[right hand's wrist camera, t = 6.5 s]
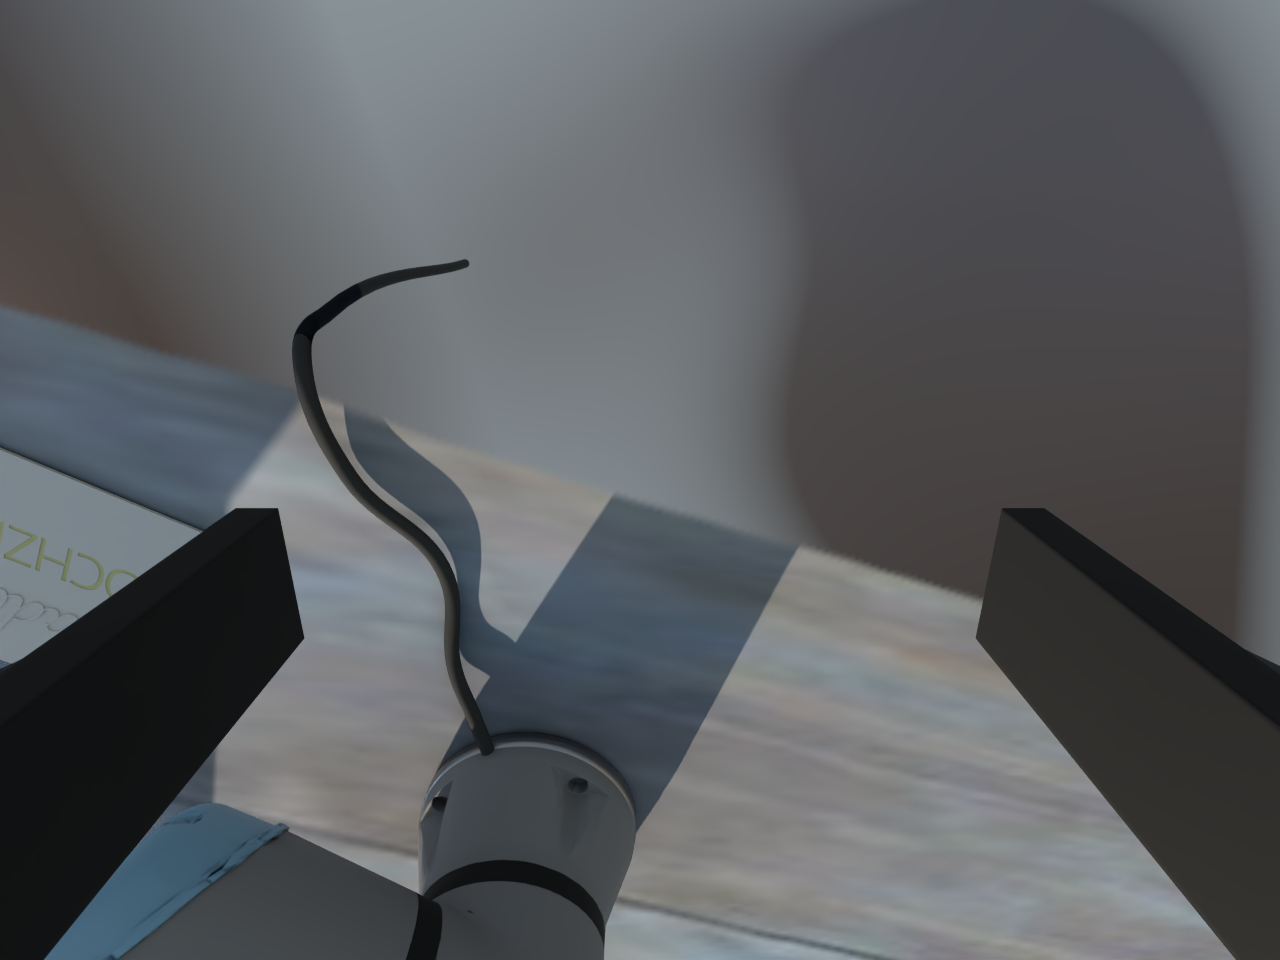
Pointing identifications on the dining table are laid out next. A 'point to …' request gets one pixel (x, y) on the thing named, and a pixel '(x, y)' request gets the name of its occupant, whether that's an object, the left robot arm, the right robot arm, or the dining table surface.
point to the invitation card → (68, 550)
